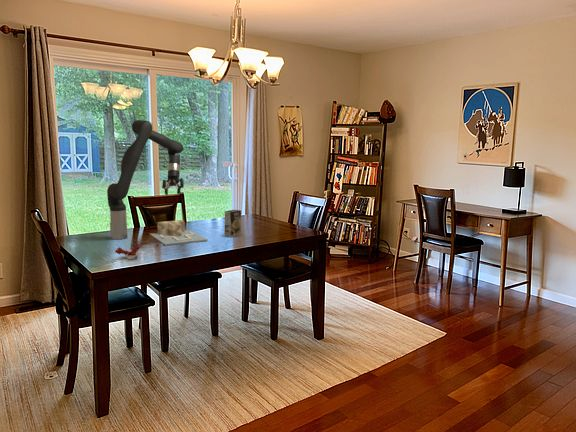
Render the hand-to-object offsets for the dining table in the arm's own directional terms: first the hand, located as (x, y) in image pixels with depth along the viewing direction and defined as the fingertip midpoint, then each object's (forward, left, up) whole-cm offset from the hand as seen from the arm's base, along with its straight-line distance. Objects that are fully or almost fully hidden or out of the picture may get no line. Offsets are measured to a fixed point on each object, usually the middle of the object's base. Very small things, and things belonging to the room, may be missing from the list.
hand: (172, 194), depth 297 cm
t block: (-5, -16, -23) cm, 29 cm away
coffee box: (+28, -33, -24) cm, 50 cm away
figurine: (-41, -57, -24) cm, 74 cm away
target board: (-5, -24, -24) cm, 34 cm away
